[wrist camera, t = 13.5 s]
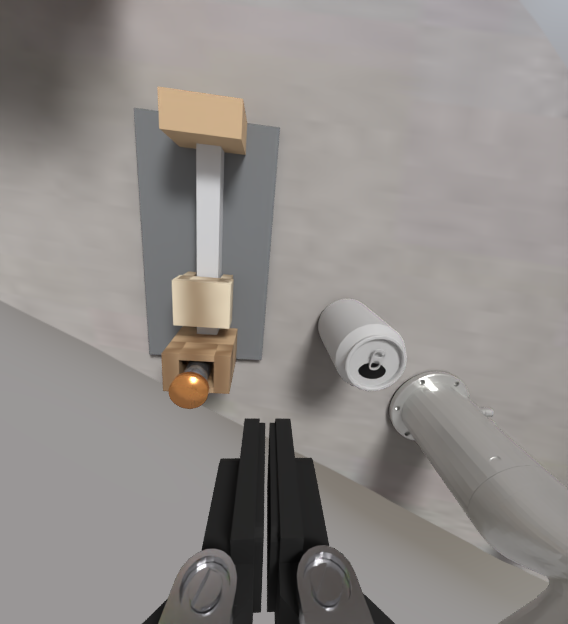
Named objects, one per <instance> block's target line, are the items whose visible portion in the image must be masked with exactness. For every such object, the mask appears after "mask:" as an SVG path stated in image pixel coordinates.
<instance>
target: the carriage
mask: <svg viewBox="0 0 568 624" xmlns="http://www.w3.org/2000/svg"><path fill="white" fill-rule="evenodd" d="M233 283H234V279H233V275H226V274H223V275H222V277H221V278H212V277H199V276H197V272H189V271H188V272H187V273H185V274H183V275H179V276H177V277H176V278H174V279H173V280H172V303H173V325H177V326H193V327H209V328H225V329H229V328H230V325H231V322H232V308H233Z"/></svg>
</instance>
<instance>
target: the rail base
mask: <svg viewBox="0 0 568 624" xmlns="http://www.w3.org/2000/svg"><path fill="white" fill-rule="evenodd" d="M134 121H135V136H136V152H137V167H138V183H139V198H140V214H141V230H142V245H143V261H144V276H145V292H146V307H147V323H148V338H149V354H154V355H161V353H162V352H163V351H164V350H165V348H166V347H167V346H168V344H169V343H170V342H171V341H172V339H173V338H174V337H175V335H176V334H177V333H178V332H179V330H180V329H181V328H182V326H177V325H173V303H172V280H173V279H174V278H176V277H177V276H179V275H183V274H185V273H187V272H188V271H189V272H197V276H199V277H212V278H221V277H222V275H223V274H226V275H233V279H234V283H233V308H232V322H231V325H230V328H236V329H238V331H237V352H236V359H250V360H262V348H263V336H264V323H265V310H266V298H267V285H268V272H269V260H270V247H271V235H272V222H273V209H274V197H275V184H276V172H277V159H278V146H279V134H280V128H279V127H272V126H264V125H257V124H250V123H247V119H246V114H245V108H244V102H243V99H240V98H233V97H226V96H219V95H212V94H206V93H199V92H192V91H185V90H178V89H171V88H164V87H158V111H154V110H147V109H139V108H134ZM219 329H220V328H209V327H197V334H209V335H217V334H218V331H219Z"/></svg>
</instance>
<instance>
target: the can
mask: <svg viewBox="0 0 568 624" xmlns="http://www.w3.org/2000/svg"><path fill="white" fill-rule="evenodd" d="M318 331H319V334H320V337H321V339H322V341H323V343H324V345H325V347H326V349H327V351H328V353H329V355H330V357H331V360H332V362H333V364H334V366H335V368H336V370H337V372H338V374H339V375H340V376H341V377H342V379H343V380H344V381H345V382H347V383H349V384H350V385H352V386H355V387H357V388H359V389H362V390H366V391H378V390H381V389H385V388H387V387H389V386H390V385H392V384H394V383H395V382H396V381H397V380H398V379H399V378H400V377H401V375H402V373H403V371H404V370H405V368H406V361H407V357H406V349H405V344H404V341H403V339H402V337H401V336H400V334H399V333H398V332H397V331H396V330H394V329H393V328H392V327H391V326H390V325H388V324H387V323H386V322H385V321H383V320H382V319H381V318H380V317H379V316H377V315H376V314H375V313H374V312H373V311H371V310H370V309H369V308H368V307H367V306H365V305H364V304H363V303H361V302H360V301H357V300H354V299H341V300H338V301H335V302H333V303H332V304H330V305H329V306H327V307H326V309H325V310H324V311H323V312H322V314H321V316H320V319H319V321H318Z"/></svg>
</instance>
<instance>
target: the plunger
mask: <svg viewBox="0 0 568 624" xmlns="http://www.w3.org/2000/svg"><path fill="white" fill-rule="evenodd" d="M212 366H213V362H207V361H189V363H188V365H187V366H186V368H185V370H184V372H183V373H181V374H179V375H177V376H176V377H175V378H174V380H173V381H172V383H171V385H170V387H169V396H170V399H171V400H172V401H173V402H174V403H175V404H176V405H178V406H179V407H182V408H187V409H193V408H196V407H199V406H201V405H202V404H203V403H204V402H205V401H206V399H207V396H208V393H209V384H208V382H207V380H208V378H209V375H210V372H211V369H212Z"/></svg>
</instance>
